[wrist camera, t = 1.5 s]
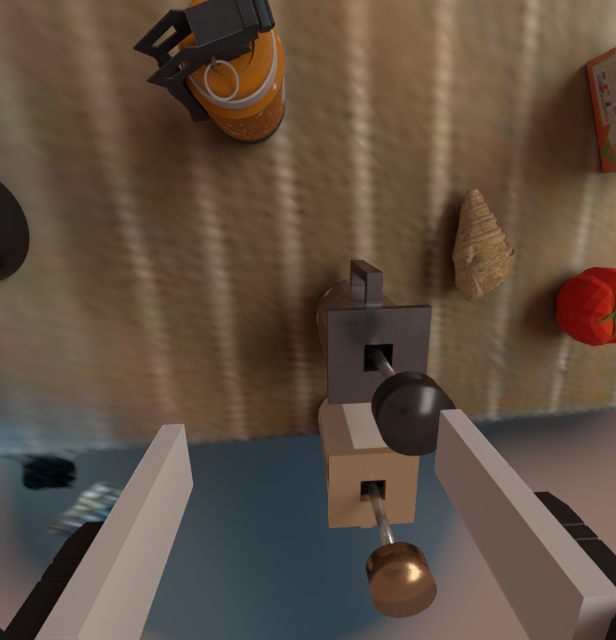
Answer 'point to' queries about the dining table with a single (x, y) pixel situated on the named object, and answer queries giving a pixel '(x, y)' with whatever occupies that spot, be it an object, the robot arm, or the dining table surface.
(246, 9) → the canister
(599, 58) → the cracker box
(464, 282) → the seashell
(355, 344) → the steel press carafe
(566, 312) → the tomato
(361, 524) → the ceramic press carafe
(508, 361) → the dining table surface
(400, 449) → the steel plunger
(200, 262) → the dining table surface
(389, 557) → the brass press plunger
